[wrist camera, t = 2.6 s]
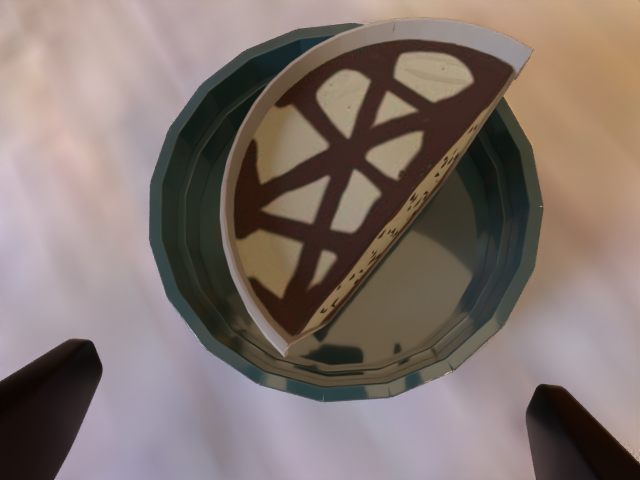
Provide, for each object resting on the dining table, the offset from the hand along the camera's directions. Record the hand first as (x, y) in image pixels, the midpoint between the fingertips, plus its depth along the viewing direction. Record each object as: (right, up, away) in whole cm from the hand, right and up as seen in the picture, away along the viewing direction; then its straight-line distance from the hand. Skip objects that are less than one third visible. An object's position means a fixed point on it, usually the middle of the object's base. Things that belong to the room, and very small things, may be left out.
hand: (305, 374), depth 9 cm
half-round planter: (+1, +4, +14) cm, 14 cm away
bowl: (+1, +4, +14) cm, 15 cm away
